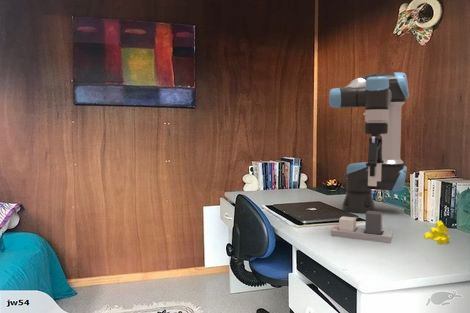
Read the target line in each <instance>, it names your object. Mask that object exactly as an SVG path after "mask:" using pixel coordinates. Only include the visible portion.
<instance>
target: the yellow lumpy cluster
mask: <svg viewBox="0 0 470 313" xmlns="http://www.w3.org/2000/svg"><path fill="white" fill-rule="evenodd" d="M448 234H450V231H449V228H448V227H447V226H446V225H445V224H444V223H443V221H442V220H438V221H437V222H435V227H434V226H432V227H430V232H429V231H426V232H425V233H424V234H423V238H424V239H425V240H433V241H435V242H436V241H437V243H436V244H437V245H447V244H449V243H450V236H449V235H448Z"/></svg>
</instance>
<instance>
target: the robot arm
mask: <svg viewBox="0 0 470 313" xmlns="http://www.w3.org/2000/svg"><path fill="white" fill-rule="evenodd" d="M408 83H409V82H408V76H407V74H406V73H404V72H386V73H385V72H383V73H369V74H365V75H363V76H359V77H357V78H355V79H353V80H351V82H350V83H349V84H348V85H346V86H344V87H337V88H331V89H330V91H329V93H328V103H329V106H330V107H331V108H332V109H333V108H334V109H337V108H338V109H342V108H343V109H344V108H346V109H347V108H349V109H350V108H364V112H363V116H364V122H366V123H365V124H364V134H365V135H370V137H369V139H368V142H369V144H368V145H369V146H368V153H367V154H368V155H367V156H368V157H367V161H361V162H354V163H349V164H348V165H347V167H346V173H345V174H346V190H345V191H346V192H345V196H344V199H343V202H342V206H341V207H342V210H343V211H345V212H349V213H356V214H357V213H359V214H366V212H367V211H376V205H375V202H374V201H375V200H374V198H373V195H372V192H373V191H372V190H374V191H375V190H378V191H389V192H400V191H402V190H404V188H405V182H406V178H407V176H406V175H407V171H408V167H407V166H406V165H404V161H403V160H402V159H401V144H402V143H401V142H402V140H401V137H402V136H401V135H402V134H401V133H402V108H403V107H402V106H403V105H404V104H405V103H406V99H409V98H410V93H409V84H408Z"/></svg>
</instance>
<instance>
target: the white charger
mask: <svg viewBox="0 0 470 313" xmlns="http://www.w3.org/2000/svg"><path fill="white" fill-rule="evenodd" d="M338 220H339V221H338V226H339V231H347V232H355V231H356V226H357V217H351V216H341V217H340V218H339V219H338Z"/></svg>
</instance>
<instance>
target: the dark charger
mask: <svg viewBox="0 0 470 313" xmlns="http://www.w3.org/2000/svg"><path fill="white" fill-rule="evenodd" d="M364 225H365V226H364V228H365V234H374V235H382V230H383V211H376V210H375V211H367V212H366V213H365V224H364Z"/></svg>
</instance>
